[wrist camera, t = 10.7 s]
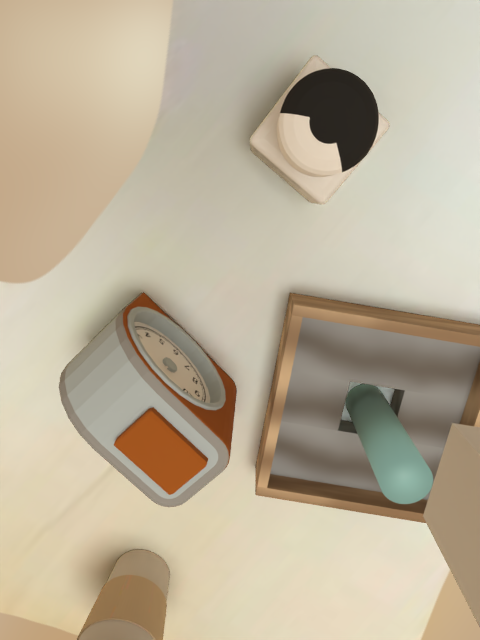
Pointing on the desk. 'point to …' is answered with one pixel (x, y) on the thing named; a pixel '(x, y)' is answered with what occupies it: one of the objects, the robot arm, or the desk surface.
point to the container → (319, 130)
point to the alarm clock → (152, 403)
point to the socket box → (331, 390)
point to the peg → (388, 446)
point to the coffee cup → (131, 600)
